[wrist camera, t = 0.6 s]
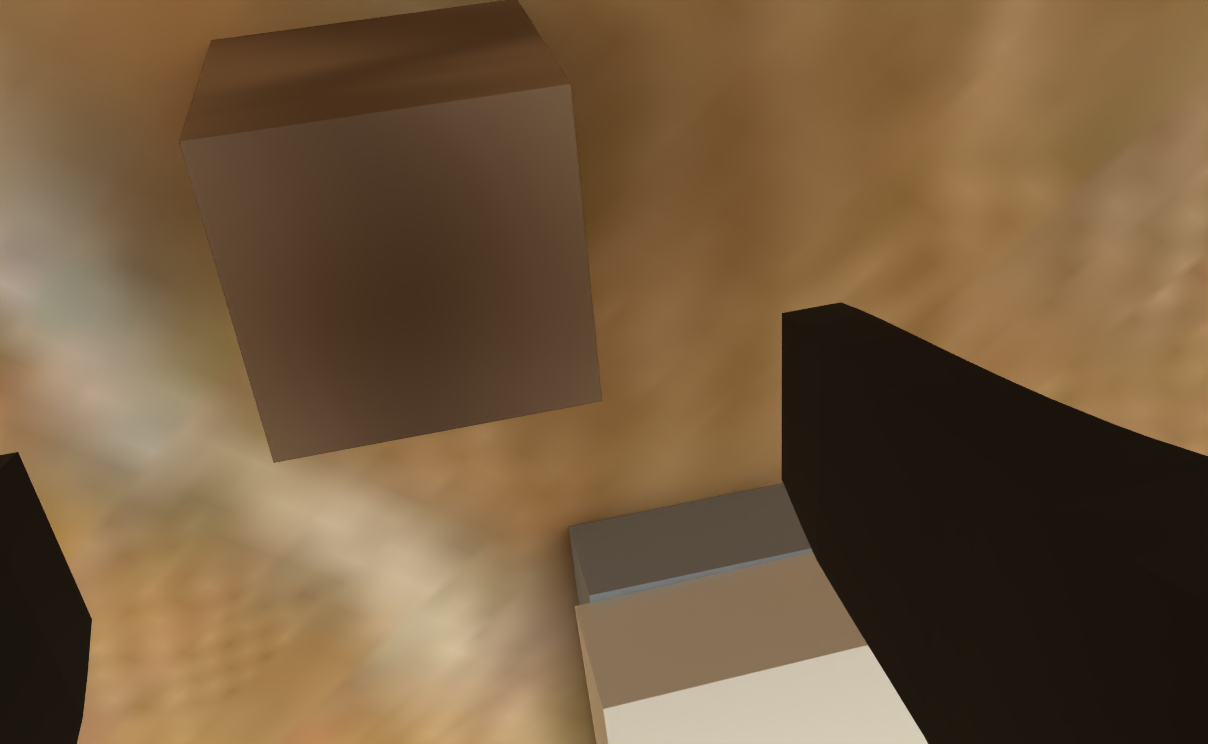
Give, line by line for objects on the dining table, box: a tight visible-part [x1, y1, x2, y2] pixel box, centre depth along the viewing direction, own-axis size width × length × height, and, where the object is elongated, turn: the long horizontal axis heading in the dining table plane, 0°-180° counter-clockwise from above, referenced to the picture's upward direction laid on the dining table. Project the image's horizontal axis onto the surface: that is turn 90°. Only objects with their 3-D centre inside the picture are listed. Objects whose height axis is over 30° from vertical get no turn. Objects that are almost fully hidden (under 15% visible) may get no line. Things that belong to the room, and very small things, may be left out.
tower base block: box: [569, 483, 813, 605], centre depth 25 cm, size 8×10×2 cm
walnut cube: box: [179, 0, 602, 463], centre depth 16 cm, size 4×4×4 cm
